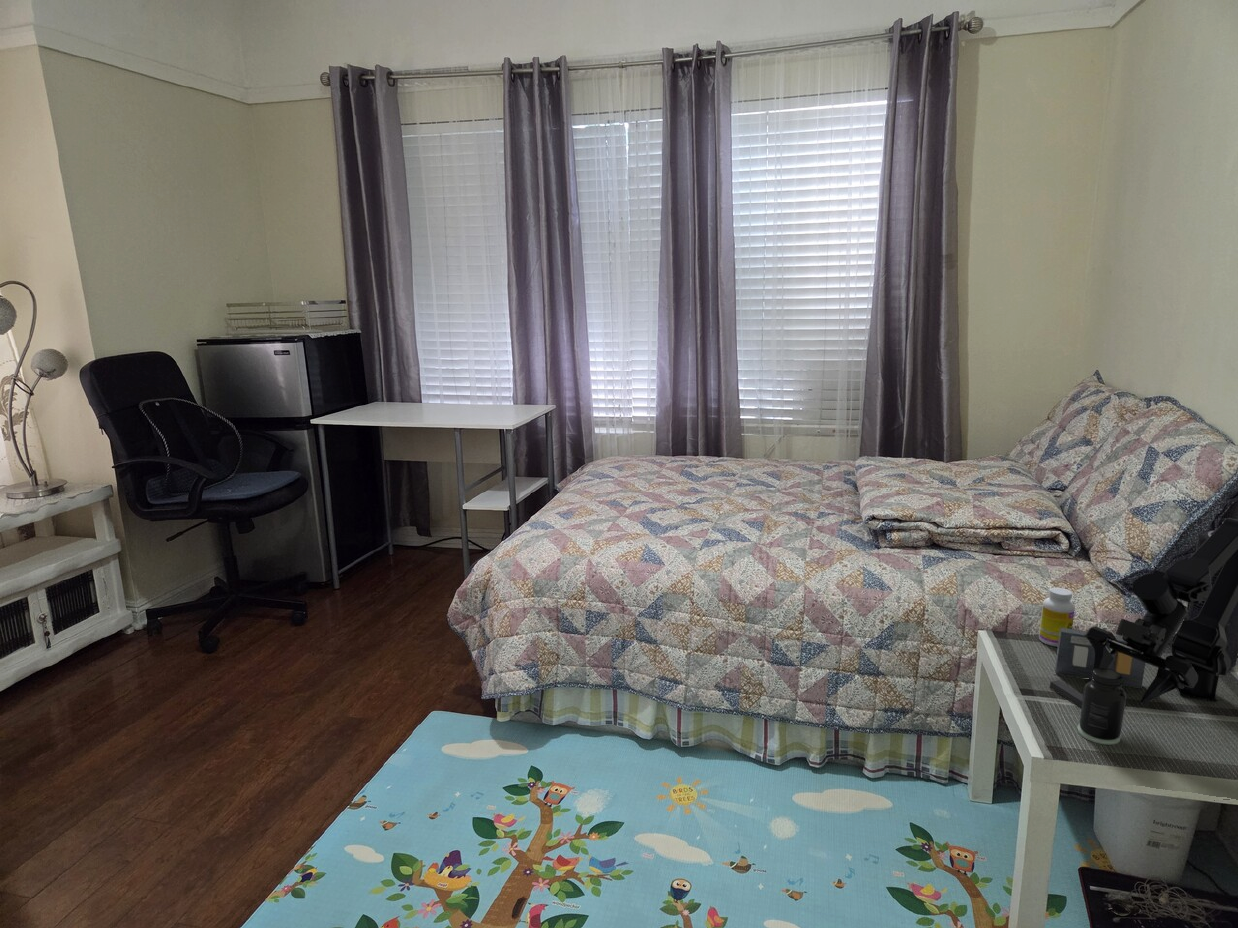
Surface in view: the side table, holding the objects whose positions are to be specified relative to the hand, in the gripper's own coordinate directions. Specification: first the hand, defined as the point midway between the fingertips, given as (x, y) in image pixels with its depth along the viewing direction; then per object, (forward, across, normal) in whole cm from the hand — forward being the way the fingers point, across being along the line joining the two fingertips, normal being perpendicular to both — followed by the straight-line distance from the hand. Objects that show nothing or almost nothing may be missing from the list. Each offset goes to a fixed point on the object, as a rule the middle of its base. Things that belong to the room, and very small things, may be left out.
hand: (1116, 692), depth 153 cm
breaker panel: (-6, -13, +18) cm, 23 cm away
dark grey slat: (+3, -9, +8) cm, 12 cm away
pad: (+8, 0, +2) cm, 9 cm away
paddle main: (-9, -9, +16) cm, 20 cm away
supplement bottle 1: (-12, -29, +24) cm, 39 cm away
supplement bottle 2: (+8, 0, +2) cm, 8 cm away
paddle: (-6, -15, +12) cm, 20 cm away
